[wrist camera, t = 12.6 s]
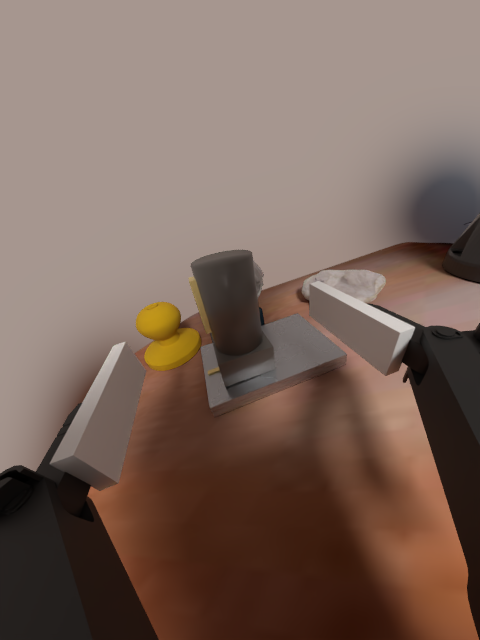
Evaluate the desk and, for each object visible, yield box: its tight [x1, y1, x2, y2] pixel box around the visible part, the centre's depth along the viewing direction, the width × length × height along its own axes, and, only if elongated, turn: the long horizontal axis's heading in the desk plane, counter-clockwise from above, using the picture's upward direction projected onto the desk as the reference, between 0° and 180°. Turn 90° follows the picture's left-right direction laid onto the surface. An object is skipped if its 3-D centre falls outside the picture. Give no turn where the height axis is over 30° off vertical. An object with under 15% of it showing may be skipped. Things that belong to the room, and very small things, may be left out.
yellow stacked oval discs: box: [136, 302, 201, 371], centre depth 25 cm, size 8×8×8 cm
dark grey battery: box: [189, 250, 275, 387], centre depth 17 cm, size 6×5×11 cm
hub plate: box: [200, 313, 347, 417], centre depth 21 cm, size 14×9×4 cm, turn 106°
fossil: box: [302, 270, 386, 304], centre depth 27 cm, size 9×6×10 cm
